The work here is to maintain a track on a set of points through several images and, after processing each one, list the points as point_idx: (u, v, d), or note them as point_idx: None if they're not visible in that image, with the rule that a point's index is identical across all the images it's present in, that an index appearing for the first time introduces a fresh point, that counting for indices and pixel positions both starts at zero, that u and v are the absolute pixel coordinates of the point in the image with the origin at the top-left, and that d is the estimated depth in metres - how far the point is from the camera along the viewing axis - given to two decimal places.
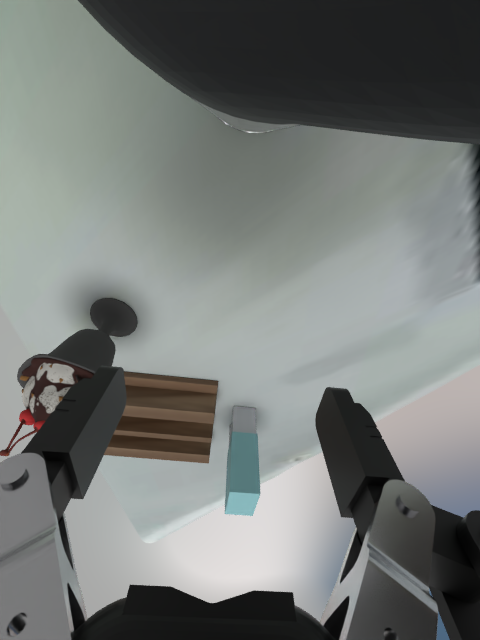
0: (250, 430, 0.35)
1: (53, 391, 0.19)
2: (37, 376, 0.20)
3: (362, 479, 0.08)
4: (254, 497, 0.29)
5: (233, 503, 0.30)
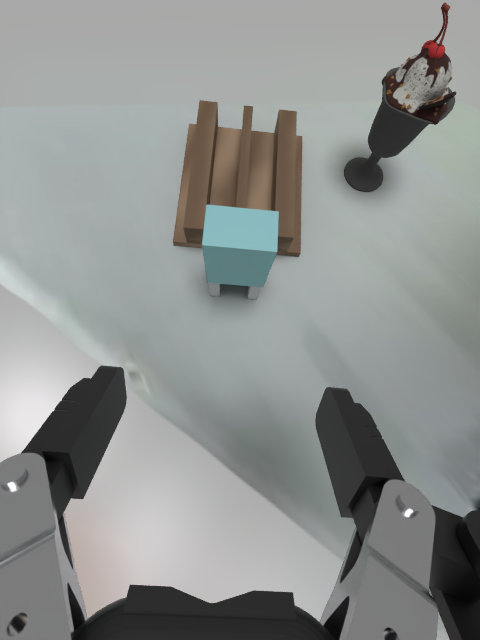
0: None
1: None
2: None
3: (362, 479, 0.08)
4: (266, 245, 0.19)
5: (242, 216, 0.20)
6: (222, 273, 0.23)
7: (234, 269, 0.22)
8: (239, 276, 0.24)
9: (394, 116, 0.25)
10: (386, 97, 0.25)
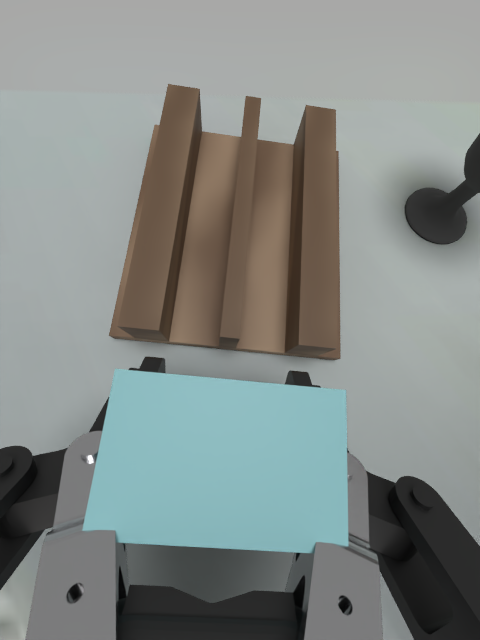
0: None
1: None
2: None
3: None
4: (311, 526, 0.06)
5: (230, 411, 0.06)
6: None
7: None
8: None
9: None
10: None
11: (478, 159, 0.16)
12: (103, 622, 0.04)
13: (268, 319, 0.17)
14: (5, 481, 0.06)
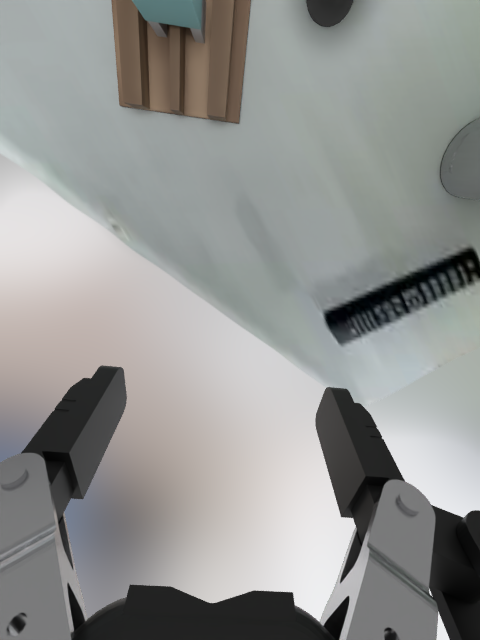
0: (201, 18, 0.26)
1: None
2: None
3: (362, 479, 0.08)
4: None
5: None
6: (153, 10, 0.24)
7: (162, 6, 0.23)
8: (171, 15, 0.24)
9: None
10: None
11: None
12: None
13: (200, 95, 0.32)
14: None
